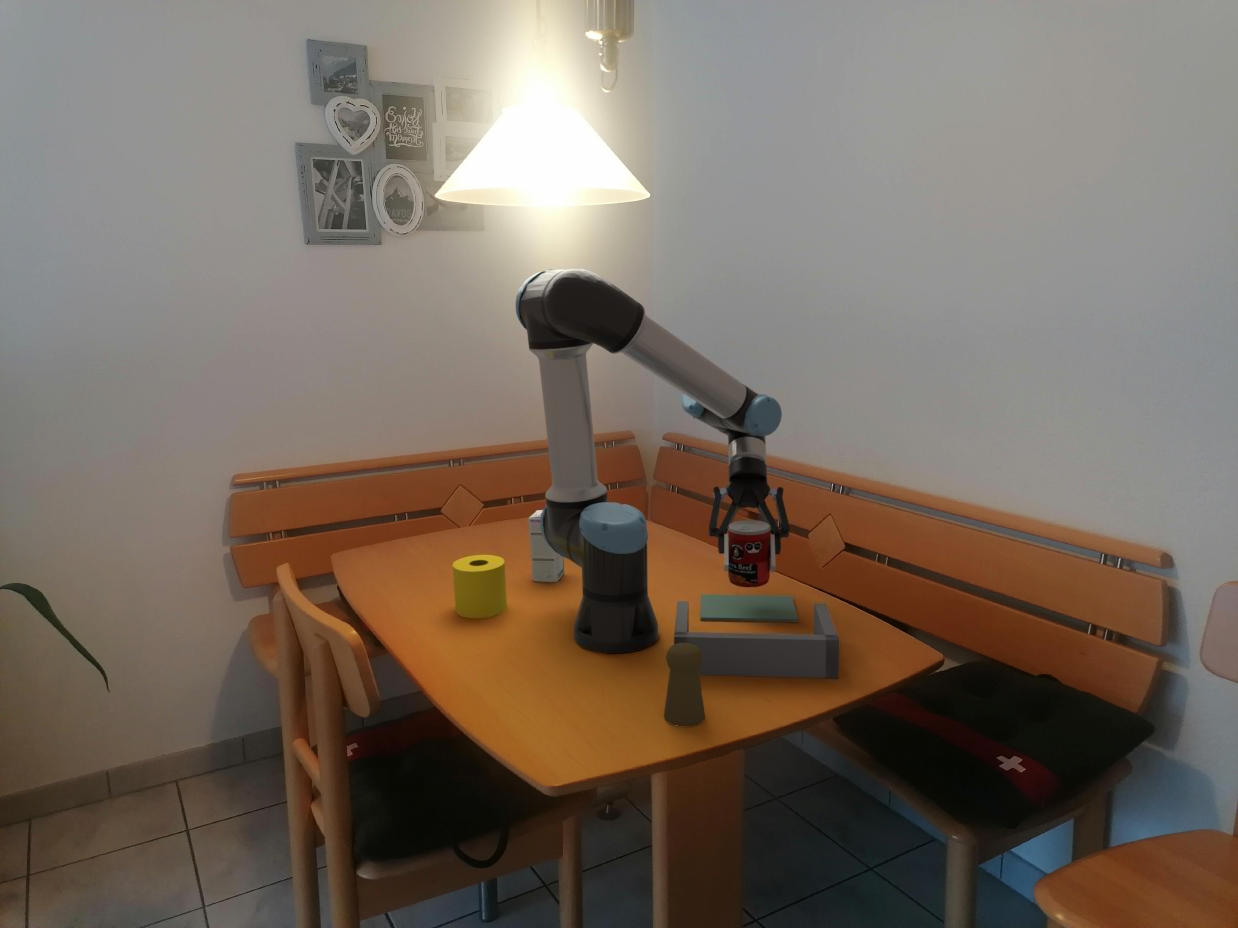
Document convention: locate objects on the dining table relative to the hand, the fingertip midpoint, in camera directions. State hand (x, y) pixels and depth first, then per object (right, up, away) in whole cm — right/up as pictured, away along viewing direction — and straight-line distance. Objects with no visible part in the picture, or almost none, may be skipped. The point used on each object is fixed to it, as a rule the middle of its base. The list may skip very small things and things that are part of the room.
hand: (749, 568), depth 158 cm
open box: (-2, -13, -13) cm, 19 cm away
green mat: (0, -9, +6) cm, 10 cm away
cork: (-15, -18, -34) cm, 41 cm away
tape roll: (-52, -9, +9) cm, 53 cm away
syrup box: (-40, -5, +26) cm, 48 cm away
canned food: (0, -3, +4) cm, 5 cm away
